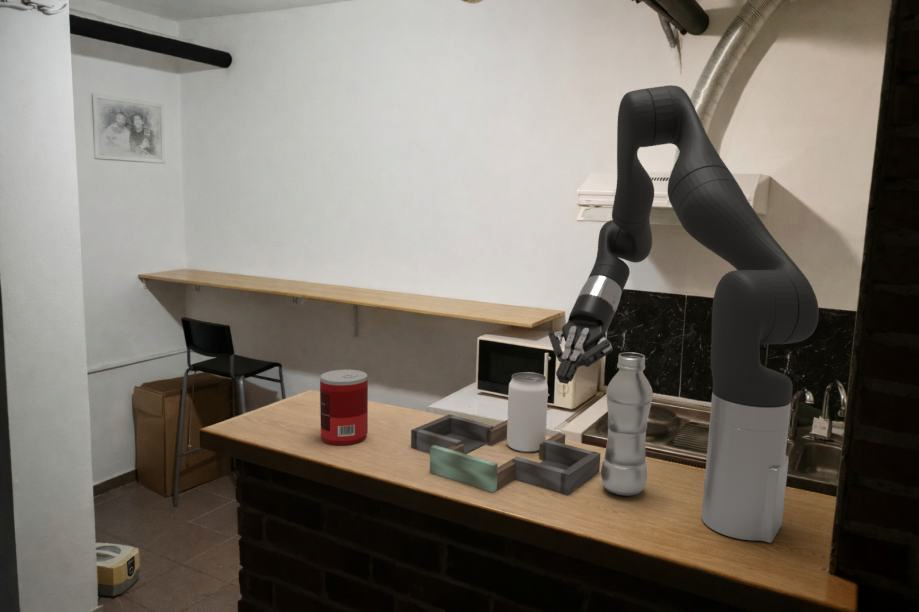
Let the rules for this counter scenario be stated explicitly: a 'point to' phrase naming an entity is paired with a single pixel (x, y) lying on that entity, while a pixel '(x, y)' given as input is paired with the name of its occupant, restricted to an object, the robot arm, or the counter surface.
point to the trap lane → (462, 436)
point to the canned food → (344, 406)
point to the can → (527, 411)
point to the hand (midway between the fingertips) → (562, 380)
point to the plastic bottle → (627, 427)
